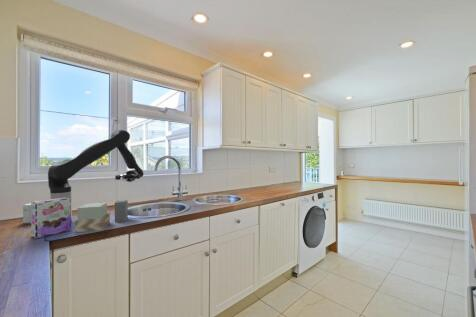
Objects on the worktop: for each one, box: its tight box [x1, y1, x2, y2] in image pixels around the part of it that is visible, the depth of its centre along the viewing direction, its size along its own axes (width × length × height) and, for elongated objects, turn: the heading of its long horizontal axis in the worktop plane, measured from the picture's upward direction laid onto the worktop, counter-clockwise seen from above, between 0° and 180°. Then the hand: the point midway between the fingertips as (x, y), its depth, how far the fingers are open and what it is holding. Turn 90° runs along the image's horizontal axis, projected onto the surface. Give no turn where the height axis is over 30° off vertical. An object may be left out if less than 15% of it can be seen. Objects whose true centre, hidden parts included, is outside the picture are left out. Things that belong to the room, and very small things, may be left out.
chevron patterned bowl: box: [74, 212, 111, 233], centre depth 115 cm, size 12×12×6 cm
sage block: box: [77, 202, 108, 220], centre depth 115 cm, size 10×10×6 cm
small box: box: [22, 202, 31, 224], centre depth 126 cm, size 8×6×10 cm
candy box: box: [30, 197, 72, 239], centre depth 106 cm, size 14×6×16 cm, turn 148°
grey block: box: [114, 199, 129, 223], centre depth 128 cm, size 6×6×11 cm
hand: (125, 177), depth 138 cm, fingers open, 8 cm apart
